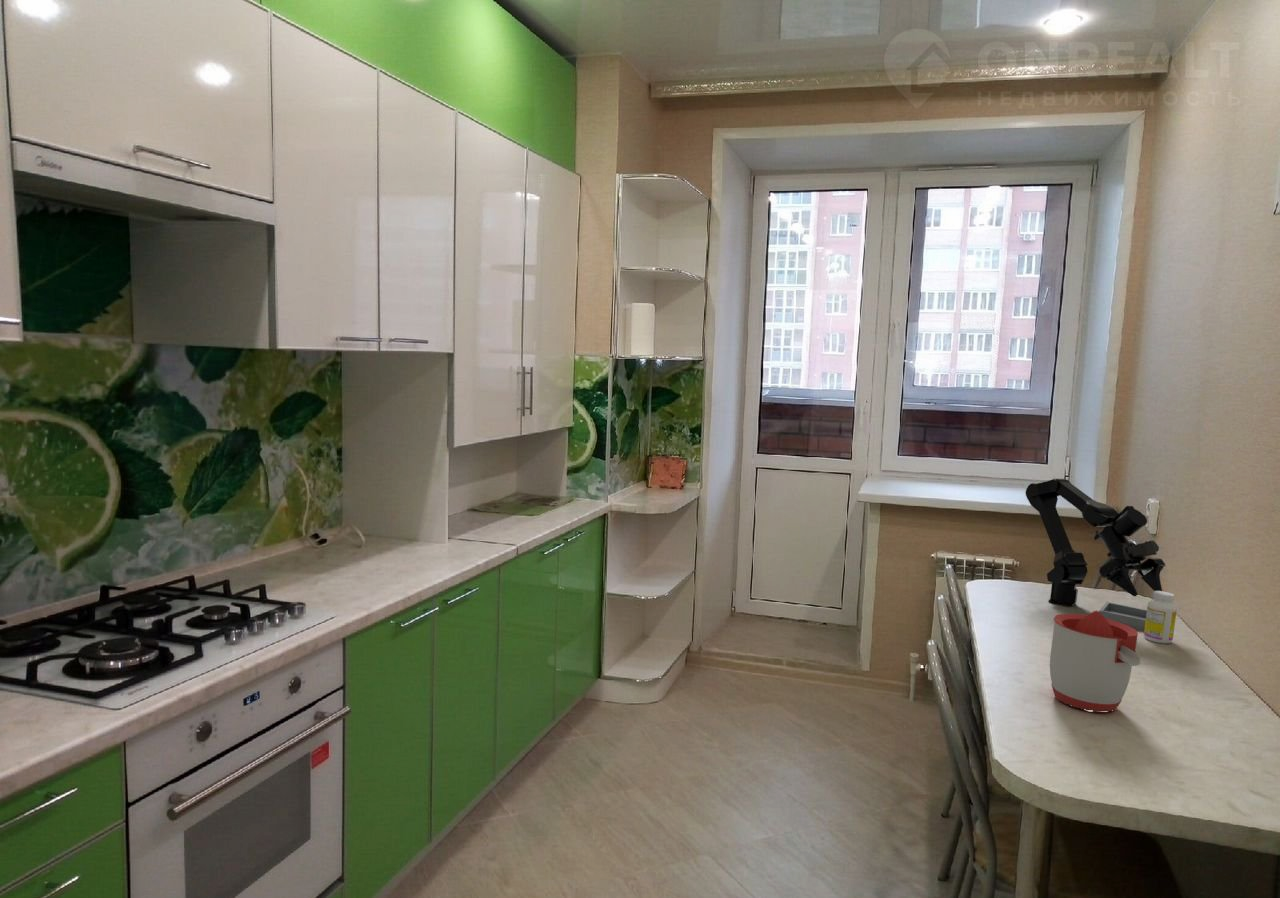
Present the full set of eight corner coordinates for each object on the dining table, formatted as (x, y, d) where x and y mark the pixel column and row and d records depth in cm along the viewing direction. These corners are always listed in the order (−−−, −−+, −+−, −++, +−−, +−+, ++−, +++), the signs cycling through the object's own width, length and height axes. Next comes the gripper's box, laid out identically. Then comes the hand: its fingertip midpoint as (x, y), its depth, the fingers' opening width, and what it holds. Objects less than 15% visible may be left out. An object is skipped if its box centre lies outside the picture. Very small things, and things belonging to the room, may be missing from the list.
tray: (1097, 620, 242) (1099, 610, 242) (1105, 611, 252) (1106, 601, 252) (1149, 631, 235) (1150, 621, 234) (1154, 622, 245) (1156, 611, 245)
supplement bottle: (1164, 637, 231) (1171, 590, 229) (1177, 645, 224) (1184, 597, 223) (1138, 634, 231) (1144, 588, 230) (1150, 643, 225) (1157, 595, 223)
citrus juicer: (1103, 727, 168) (1116, 628, 166) (1027, 693, 184) (1039, 602, 181) (1151, 716, 176) (1165, 621, 173) (1075, 684, 191) (1086, 597, 188)
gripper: (1113, 530, 231) (1144, 581, 221) (1163, 529, 237) (1196, 579, 228) (1085, 551, 239) (1114, 601, 230) (1135, 550, 245) (1165, 599, 236)
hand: (1148, 595), depth 231 cm, fingers open, 9 cm apart
